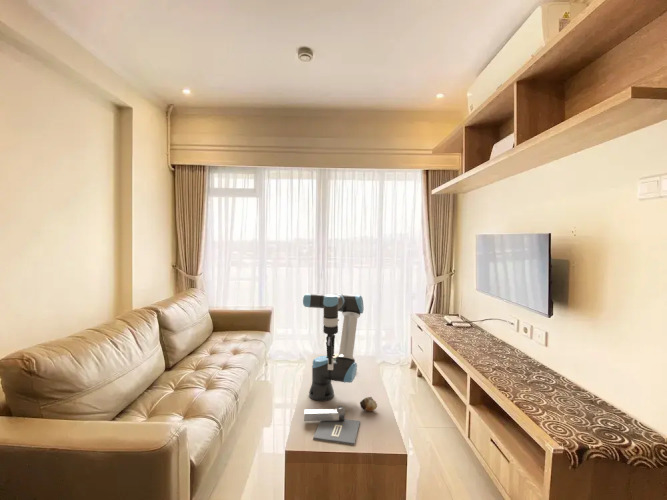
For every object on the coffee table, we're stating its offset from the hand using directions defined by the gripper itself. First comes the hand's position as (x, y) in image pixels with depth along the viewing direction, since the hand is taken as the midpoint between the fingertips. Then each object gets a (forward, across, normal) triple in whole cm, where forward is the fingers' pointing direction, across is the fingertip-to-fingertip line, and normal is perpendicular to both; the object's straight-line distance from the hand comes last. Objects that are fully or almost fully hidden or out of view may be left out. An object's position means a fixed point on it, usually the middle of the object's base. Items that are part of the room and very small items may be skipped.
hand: (330, 369), depth 178 cm
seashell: (+29, +14, -19) cm, 37 cm away
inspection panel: (+28, -9, -5) cm, 29 cm away
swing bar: (+26, -2, +3) cm, 26 cm away
